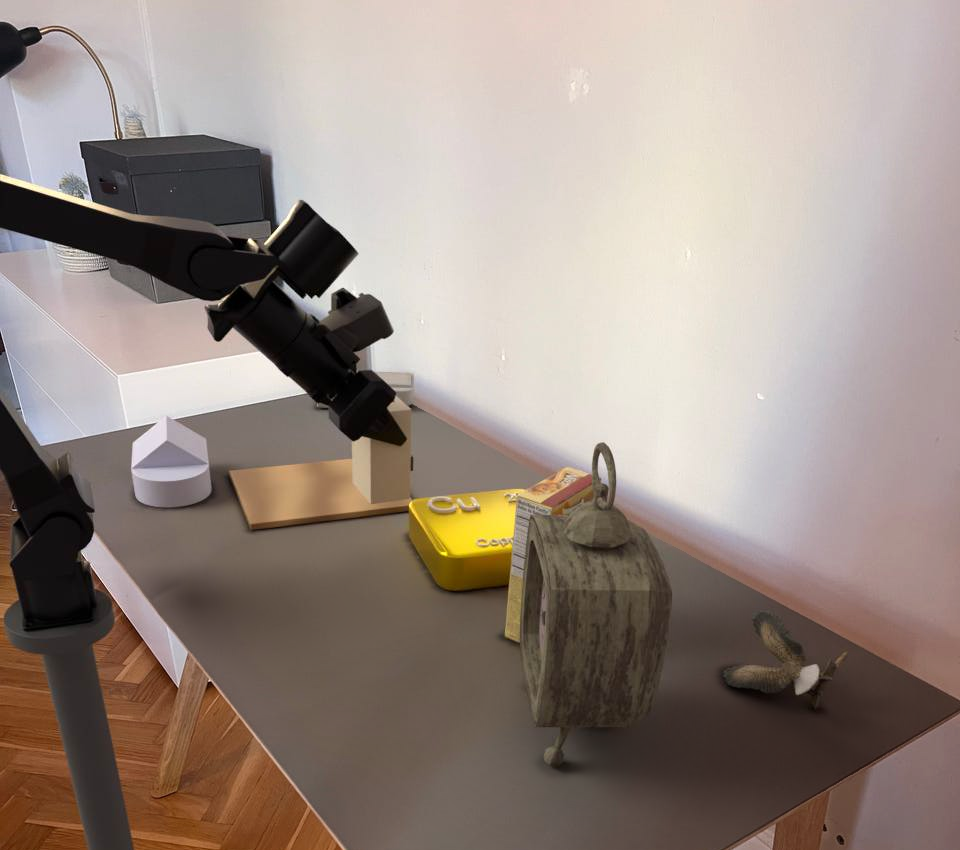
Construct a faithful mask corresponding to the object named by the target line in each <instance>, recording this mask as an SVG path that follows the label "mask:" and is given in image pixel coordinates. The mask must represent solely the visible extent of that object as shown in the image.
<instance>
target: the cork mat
mask: <svg viewBox="0 0 960 850" xmlns="http://www.w3.org/2000/svg"><path fill="white" fill-rule="evenodd" d="M228 476H229V479H230V481H231V484H232V486H233V489H234V491H235V493H236V496H237V498H238V501H239V504H240V506H241V509H242V511H243V513H244V516H245V518H246V521H247V523H248V526H249V528H250V530H251V531H256V530H263V529H270V528H271V529H272V528H279V527H286V526H289V527H290V526H296V525H304V524H305V525H306V524H313V523H321V522H330V521H337V520H346V519H355V518H363V517H370V516H378V515H379V516H380V515H386V514H396V513H403V512H409V505H410V502H412V501H413V500H414V499H413V498H412V497H411V496H410V499H405V500H398V501H390V502H383V503H376V504H370V503H369V502H368V500H367V499H366V498H365V497H364V496H363V494H362V493H361V492H360V491H359V490H358V488H357V487H356V486H355V485H354V484H353V477H352V458H346V459H335V460H324V461H315V462H314V461H313V462H305V463H295V464H285V465H283V464H282V465H275V466H273V465H272V466H265V467H263V466H262V467H254V468H244V469H235V470H229V471H228Z"/></svg>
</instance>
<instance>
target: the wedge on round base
mask: <svg viewBox="0 0 960 850" xmlns="http://www.w3.org/2000/svg"><path fill="white" fill-rule="evenodd" d="M131 450H132V452H131V466H130V467H131V468H130V469H131V477H132V484H133V489H134V495H135V498H136V499H137V501H138V502H140V503H142V504H143V505H146V506H150V507H156V508H157V507H158V508H181V507H185V506H186V507H187V506H190V505H193V504H197V503H199V502H201V501H203V500H205V499H207V498H208V497H209V496H210V495H211V493H212V481H211V471H210V463H209V454H208V443H207V438H206V437H204V436H202V435H200V434H198V433H197V432H195V431H193V430H191V429H190V428H188V427H187V426H185V425H183V424H181V423H180V422H178V421H176V420H175V419H173V418H171V417H170V416H168V415H165V416H164V417H163V418H161V419H160V420H159V421H158V422H157V423H156V424H154V425H153V426H152V427H150V428H149V429H148V430H147V431H145V432H144V433H143V434H142V435H141V436H140V437H138V438H137V439H136V440H134V441H133V442H132V449H131Z"/></svg>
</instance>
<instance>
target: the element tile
mask: <svg viewBox="0 0 960 850" xmlns="http://www.w3.org/2000/svg"><path fill="white" fill-rule="evenodd" d="M525 490H526V489H523V488H509V489H501V490H489V491H479V492H478V491H477V492H468V493H458V494H449V495H448V494H447V495H437V496H427V497H419V498H414V499H412V500H413V501H412V502H410V505H409V511H408V537H409V539H410V541H411V543H412V545H413V546H414V548H415V549H416V552H417V553H418V554H419V556H420V558H421V560H422V561H423V563H424V565H425V566H426V568H427V570H428V572H429V573H430V575H431V577H432V578H433V580H434V582H435V583H436V585H438V586H439V587H440V588H442V589H443V590H446V591H450V592H464V591H471V590H480V589H488V588H494V587H504V586H509V581H510V570H511V558H512V547H513V535H514V523H515V512H516V499H517V495H518V494H520V493H522V492H523V491H525Z"/></svg>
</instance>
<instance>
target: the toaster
mask: <svg viewBox="0 0 960 850" xmlns="http://www.w3.org/2000/svg"><path fill="white" fill-rule="evenodd" d="M387 408H388V410H389V411H390V413H391V415H392V416H393V418H394V419H395V421H396V422H397V424H398V425H399V427H400V428H401V430H402V431H403V433H404V434H405V436H406V437H407V440H406V442H405V443H404V444H403V445H402V446H397V445H393V444H389V443H386V442H382V441H378V440H374V439H370V438H366V437H361V438H360V439H359V440H356V441H354V442H353V441H352V440H351V459H352V477H353V484H354V485H355V486H356V487H357V488H358V490H359V491H360V492H361V493H362V494H363V496H364V497H365V498H366V499H367V500H368V502H369V503H370V504H376V503H383V502H390V501H398V500H405V499H410V497H411V472H413V471H414V456H413V455H412V408H410V406H407V405H406V404H405V403H404V402H402V401H401V400H400V399H399V398H398V397H397V396H396V397H395V399H394V400H393V402H392V403H391V404H390V405H389V406H388V407H387Z"/></svg>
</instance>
